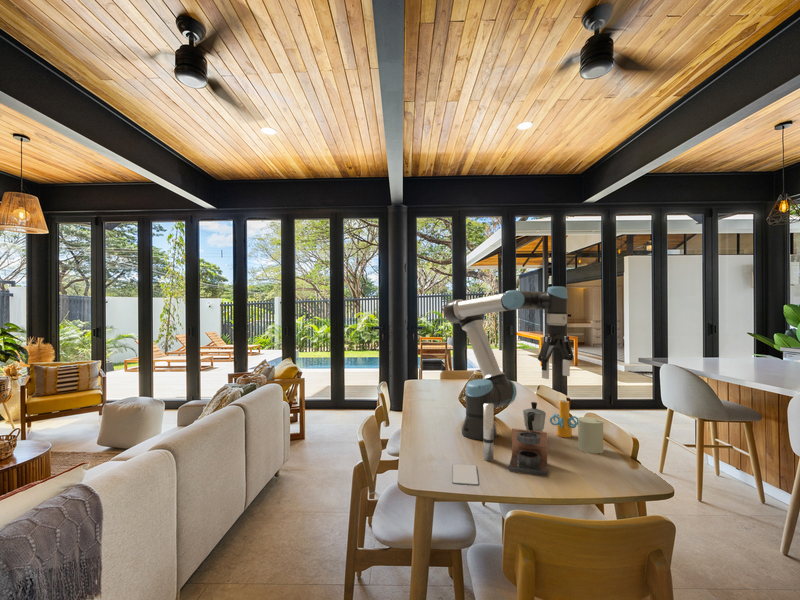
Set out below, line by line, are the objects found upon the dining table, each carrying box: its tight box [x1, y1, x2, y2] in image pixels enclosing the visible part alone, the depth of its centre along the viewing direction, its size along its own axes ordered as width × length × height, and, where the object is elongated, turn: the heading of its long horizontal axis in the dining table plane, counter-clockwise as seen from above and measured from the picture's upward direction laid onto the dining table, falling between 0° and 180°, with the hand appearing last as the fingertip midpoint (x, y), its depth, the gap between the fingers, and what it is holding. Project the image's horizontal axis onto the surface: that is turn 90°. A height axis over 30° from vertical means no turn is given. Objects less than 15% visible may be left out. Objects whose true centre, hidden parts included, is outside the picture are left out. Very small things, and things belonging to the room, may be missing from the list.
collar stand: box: [508, 428, 548, 477], centre depth 135 cm, size 12×12×11 cm
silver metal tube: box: [482, 403, 495, 462], centre depth 142 cm, size 4×4×20 cm
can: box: [577, 416, 605, 455], centre depth 153 cm, size 9×9×12 cm
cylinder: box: [549, 399, 579, 439], centre depth 170 cm, size 12×10×15 cm
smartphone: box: [451, 463, 480, 487], centre depth 128 cm, size 8×1×15 cm
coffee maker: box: [522, 401, 547, 432], centre depth 153 cm, size 15×9×18 cm, turn 149°
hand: (555, 377), depth 157 cm, fingers open, 13 cm apart
